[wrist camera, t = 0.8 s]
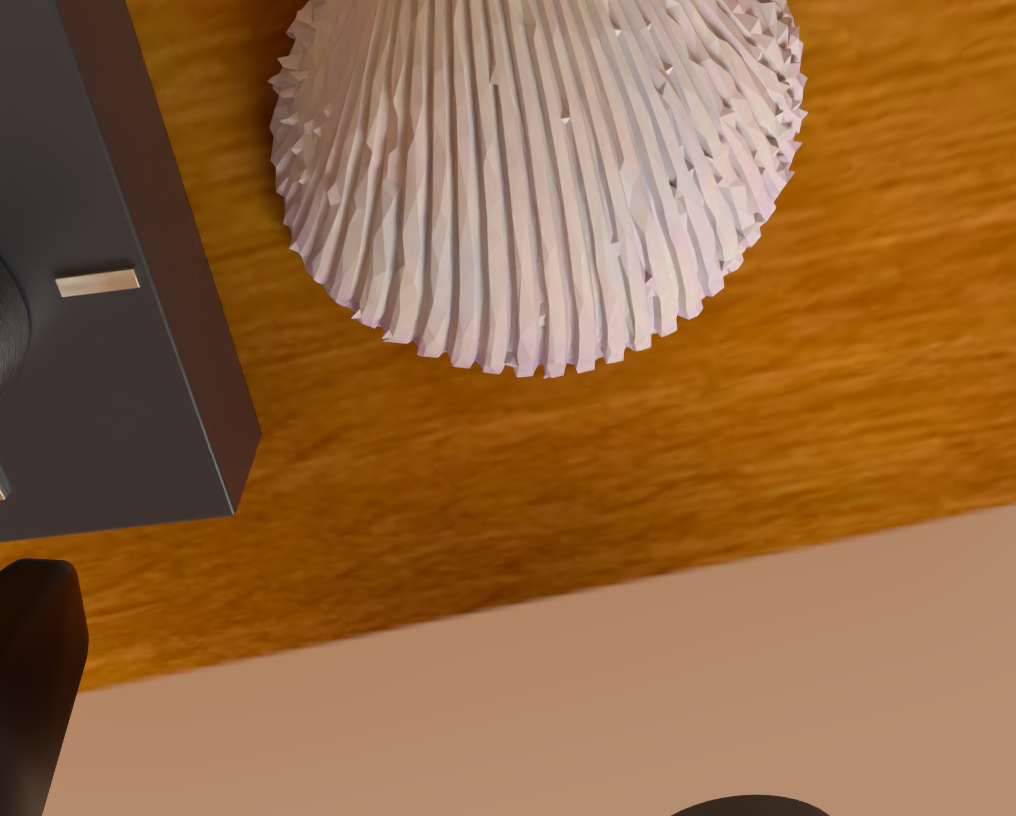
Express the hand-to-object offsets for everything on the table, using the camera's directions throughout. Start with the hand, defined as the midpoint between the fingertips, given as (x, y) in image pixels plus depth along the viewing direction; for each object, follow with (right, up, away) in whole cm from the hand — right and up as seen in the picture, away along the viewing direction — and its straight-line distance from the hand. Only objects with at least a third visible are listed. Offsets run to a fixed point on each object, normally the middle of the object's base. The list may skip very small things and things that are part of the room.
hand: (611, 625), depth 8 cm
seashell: (0, +7, +11) cm, 13 cm away
